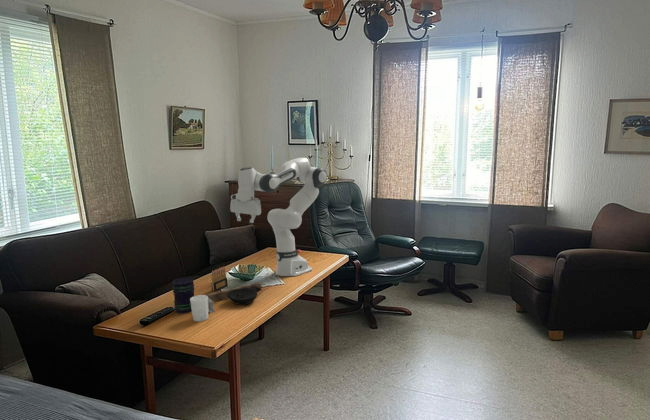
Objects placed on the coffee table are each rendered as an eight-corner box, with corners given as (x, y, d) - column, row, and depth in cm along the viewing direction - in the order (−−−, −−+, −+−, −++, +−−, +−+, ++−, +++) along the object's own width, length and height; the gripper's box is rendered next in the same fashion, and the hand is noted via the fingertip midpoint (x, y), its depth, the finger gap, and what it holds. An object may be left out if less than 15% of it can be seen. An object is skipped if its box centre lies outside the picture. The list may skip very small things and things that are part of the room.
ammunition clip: (214, 292, 239) (212, 270, 237) (211, 291, 240) (210, 270, 238) (227, 286, 248) (226, 265, 247) (225, 285, 249) (223, 265, 248)
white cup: (193, 323, 198) (191, 302, 196) (191, 317, 205) (189, 296, 203) (211, 320, 201) (209, 299, 199) (208, 314, 208) (206, 293, 207)
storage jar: (195, 304, 221) (192, 276, 219) (197, 311, 212) (194, 281, 210) (174, 308, 218) (171, 279, 216) (175, 315, 209) (172, 284, 206)
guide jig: (259, 289, 240) (259, 280, 240) (272, 296, 228) (272, 287, 227) (199, 304, 222) (198, 294, 221) (210, 312, 210) (209, 302, 209)
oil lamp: (270, 296, 228) (269, 287, 227) (244, 309, 212) (243, 299, 211) (248, 292, 236) (248, 283, 235) (221, 304, 220) (221, 295, 219)
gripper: (264, 198, 239) (263, 223, 240) (236, 195, 250) (236, 219, 251) (256, 198, 234) (255, 224, 235) (228, 195, 245) (228, 220, 246)
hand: (245, 221), depth 243 cm, fingers open, 8 cm apart
